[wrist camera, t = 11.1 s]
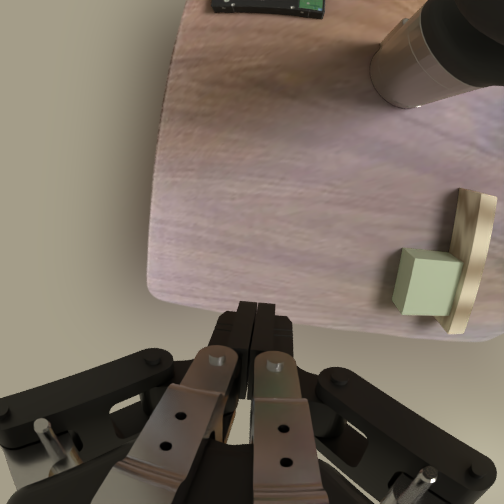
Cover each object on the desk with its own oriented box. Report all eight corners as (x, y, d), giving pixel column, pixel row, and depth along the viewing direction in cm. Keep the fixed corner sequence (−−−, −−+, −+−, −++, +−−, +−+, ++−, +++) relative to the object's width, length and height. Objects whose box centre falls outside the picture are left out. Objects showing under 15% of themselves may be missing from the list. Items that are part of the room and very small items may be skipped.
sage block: (401, 247, 41) (415, 258, 36) (447, 251, 40) (463, 262, 36) (391, 299, 43) (401, 314, 39) (435, 300, 43) (448, 315, 38)
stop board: (459, 187, 37) (481, 193, 31) (474, 191, 37) (497, 197, 31) (432, 315, 43) (448, 334, 37) (447, 315, 43) (463, 333, 37)
